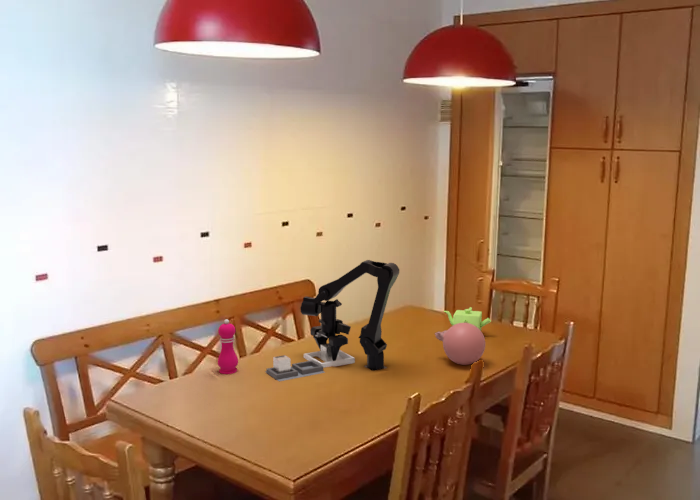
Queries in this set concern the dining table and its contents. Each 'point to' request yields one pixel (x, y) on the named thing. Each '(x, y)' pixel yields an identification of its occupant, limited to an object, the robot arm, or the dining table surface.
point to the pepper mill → (227, 349)
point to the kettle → (468, 317)
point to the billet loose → (325, 353)
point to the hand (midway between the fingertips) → (329, 357)
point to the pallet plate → (297, 371)
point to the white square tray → (341, 360)
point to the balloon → (462, 343)
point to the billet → (281, 364)
